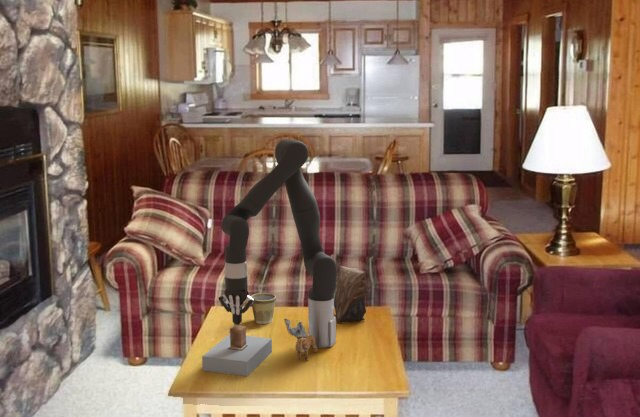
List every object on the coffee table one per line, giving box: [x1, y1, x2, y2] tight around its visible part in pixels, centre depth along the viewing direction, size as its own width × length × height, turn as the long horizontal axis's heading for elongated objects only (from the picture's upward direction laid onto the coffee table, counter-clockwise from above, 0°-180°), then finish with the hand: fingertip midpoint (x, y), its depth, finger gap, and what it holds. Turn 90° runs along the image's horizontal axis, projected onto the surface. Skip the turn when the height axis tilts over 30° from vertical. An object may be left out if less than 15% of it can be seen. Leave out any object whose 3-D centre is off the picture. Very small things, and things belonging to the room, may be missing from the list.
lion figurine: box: [295, 335, 318, 362], centre depth 270 cm, size 15×5×9 cm, turn 166°
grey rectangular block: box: [201, 333, 273, 377], centre depth 267 cm, size 16×22×5 cm
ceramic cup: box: [250, 292, 277, 325], centre depth 308 cm, size 13×10×10 cm
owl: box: [334, 265, 368, 324], centre depth 309 cm, size 13×13×20 cm
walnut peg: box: [229, 324, 247, 351], centre depth 266 cm, size 4×4×12 cm
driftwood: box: [283, 318, 309, 339], centre depth 299 cm, size 21×7×2 cm, turn 9°
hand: (237, 324), depth 265 cm, fingers closed
